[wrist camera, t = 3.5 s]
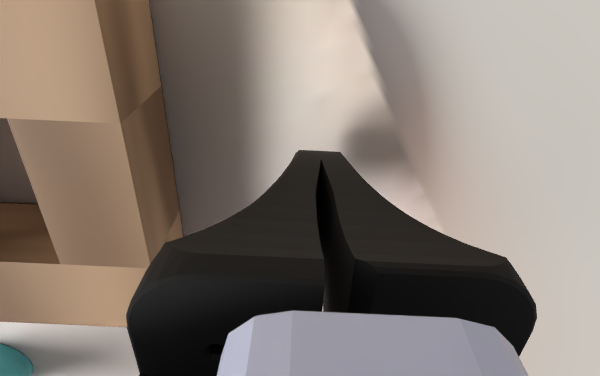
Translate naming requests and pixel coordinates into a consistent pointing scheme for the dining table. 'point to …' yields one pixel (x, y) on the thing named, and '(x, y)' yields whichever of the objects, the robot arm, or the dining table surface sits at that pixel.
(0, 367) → the dowel
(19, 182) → the dining table surface
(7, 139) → the dining table surface
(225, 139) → the dining table surface
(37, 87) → the wooden square frame
